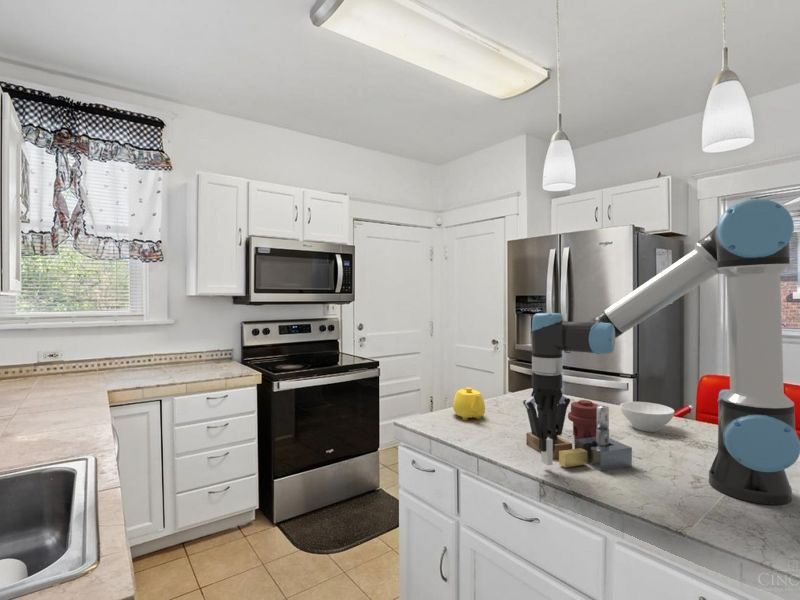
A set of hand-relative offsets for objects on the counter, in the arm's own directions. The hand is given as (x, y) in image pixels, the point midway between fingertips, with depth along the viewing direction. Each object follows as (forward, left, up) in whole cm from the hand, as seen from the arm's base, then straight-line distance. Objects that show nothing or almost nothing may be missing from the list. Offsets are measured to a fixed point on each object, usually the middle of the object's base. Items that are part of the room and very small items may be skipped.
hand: (546, 462), depth 114 cm
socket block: (0, -18, -2) cm, 18 cm away
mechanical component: (+15, -24, -2) cm, 29 cm away
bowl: (+19, -53, -2) cm, 56 cm away
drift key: (0, -8, -1) cm, 8 cm away
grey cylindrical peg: (0, -18, -2) cm, 18 cm away
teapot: (+49, -2, -2) cm, 49 cm away
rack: (+12, -9, -2) cm, 15 cm away
